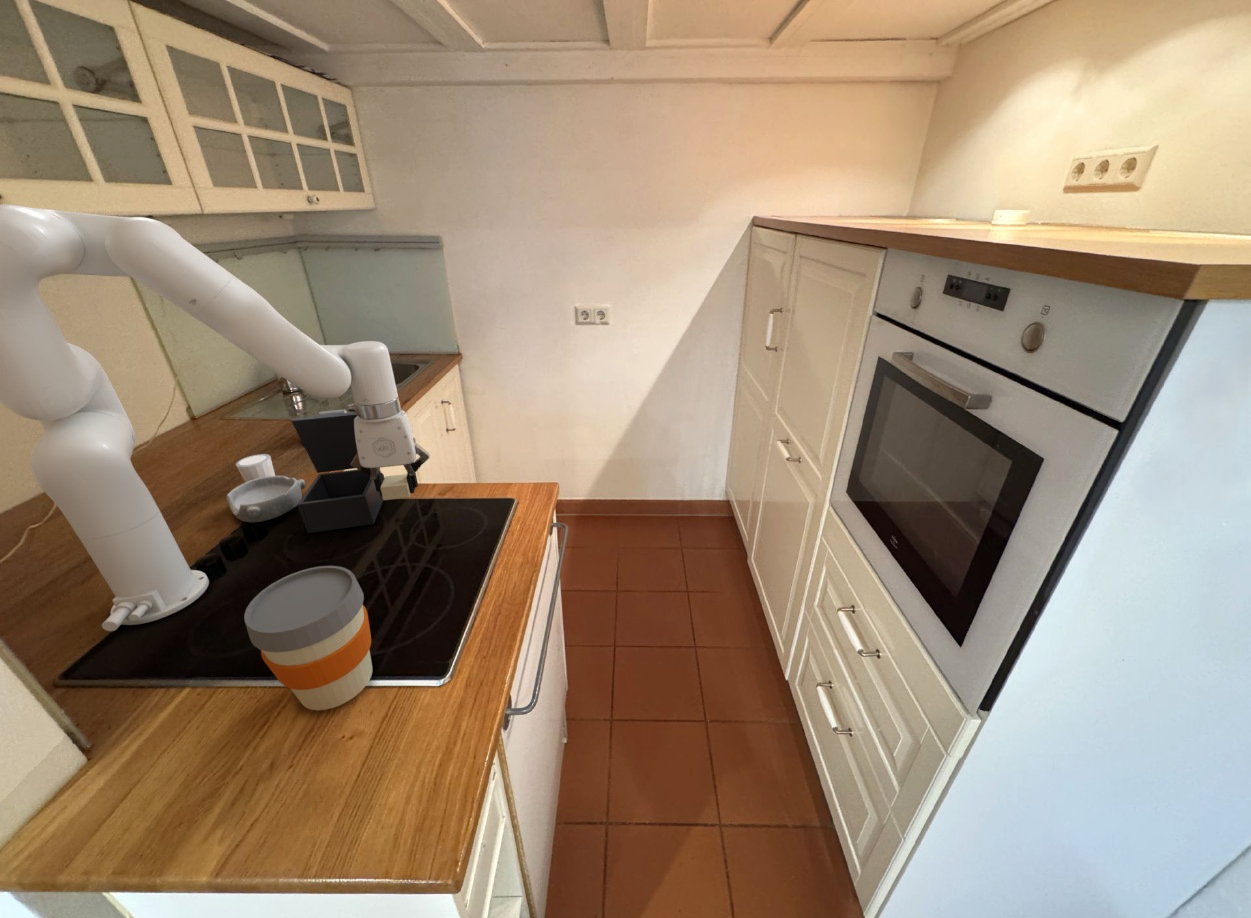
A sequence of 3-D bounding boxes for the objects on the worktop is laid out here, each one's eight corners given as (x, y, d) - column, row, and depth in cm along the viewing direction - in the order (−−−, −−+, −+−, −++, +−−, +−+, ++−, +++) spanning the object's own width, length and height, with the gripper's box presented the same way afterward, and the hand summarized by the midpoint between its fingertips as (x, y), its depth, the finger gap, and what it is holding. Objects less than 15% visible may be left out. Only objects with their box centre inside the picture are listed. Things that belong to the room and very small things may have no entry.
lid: (358, 414, 103) (362, 400, 107) (291, 421, 100) (297, 406, 104) (378, 465, 112) (381, 451, 116) (317, 473, 110) (322, 458, 113)
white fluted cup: (240, 489, 119) (229, 463, 116) (269, 476, 125) (259, 451, 122) (256, 495, 116) (245, 468, 113) (286, 482, 122) (276, 456, 119)
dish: (264, 529, 103) (256, 508, 101) (216, 520, 107) (206, 500, 105) (321, 495, 115) (315, 476, 113) (276, 488, 119) (269, 469, 117)
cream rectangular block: (409, 497, 101) (406, 484, 100) (383, 500, 100) (380, 487, 99) (413, 486, 105) (410, 473, 104) (388, 488, 104) (385, 476, 103)
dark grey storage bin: (373, 524, 104) (365, 495, 101) (307, 533, 101) (296, 504, 98) (386, 492, 116) (379, 466, 113) (327, 500, 113) (318, 473, 110)
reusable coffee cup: (401, 645, 74) (376, 564, 67) (358, 723, 62) (322, 634, 56) (318, 645, 74) (285, 564, 68) (261, 723, 63) (214, 634, 56)
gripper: (323, 419, 90) (349, 506, 98) (423, 410, 93) (440, 495, 101) (335, 405, 96) (358, 488, 104) (428, 398, 100) (443, 479, 108)
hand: (398, 491), depth 102 cm, fingers closed on cream rectangular block, 5 cm apart
